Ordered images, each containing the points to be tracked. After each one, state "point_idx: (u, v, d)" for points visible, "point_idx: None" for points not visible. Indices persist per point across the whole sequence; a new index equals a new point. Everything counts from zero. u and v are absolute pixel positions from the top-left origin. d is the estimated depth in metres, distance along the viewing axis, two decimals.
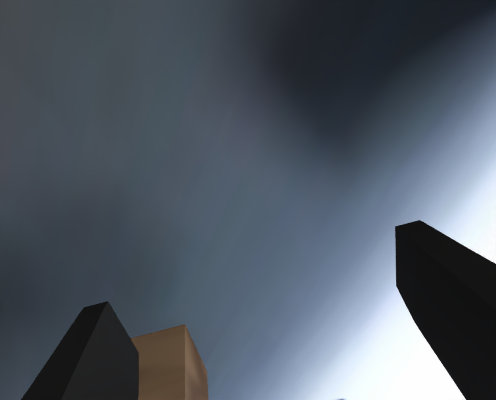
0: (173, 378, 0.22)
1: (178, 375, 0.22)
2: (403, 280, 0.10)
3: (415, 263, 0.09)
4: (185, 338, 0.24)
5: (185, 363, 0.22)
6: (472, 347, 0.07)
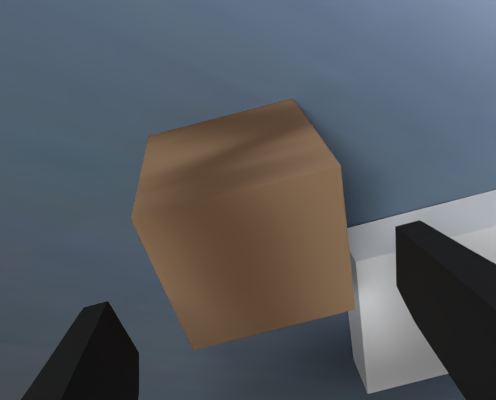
0: None
1: None
2: (403, 280, 0.10)
3: (415, 263, 0.09)
4: (150, 147, 0.13)
5: (141, 175, 0.11)
6: (472, 347, 0.07)
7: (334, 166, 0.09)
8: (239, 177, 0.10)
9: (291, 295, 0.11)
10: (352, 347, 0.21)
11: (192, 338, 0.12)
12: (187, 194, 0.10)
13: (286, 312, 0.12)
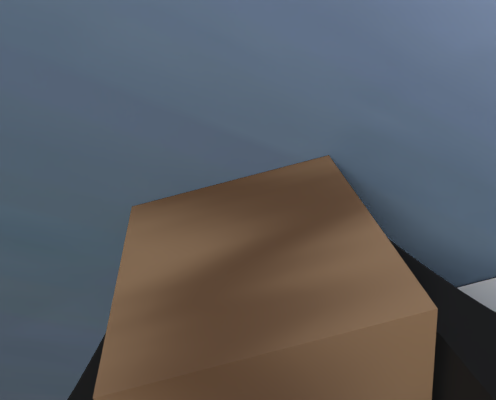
0: None
1: None
2: None
3: None
4: (132, 230, 0.09)
5: (116, 288, 0.07)
6: None
7: (426, 309, 0.06)
8: (267, 315, 0.06)
9: None
10: None
11: None
12: (185, 345, 0.06)
13: None
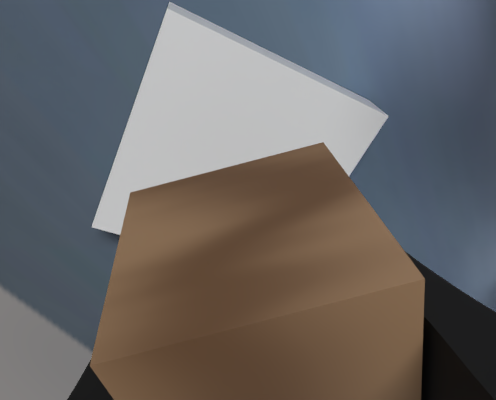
0: None
1: None
2: None
3: None
4: (130, 214, 0.09)
5: (114, 267, 0.08)
6: None
7: (414, 280, 0.06)
8: (260, 287, 0.06)
9: None
10: None
11: None
12: (180, 316, 0.06)
13: None
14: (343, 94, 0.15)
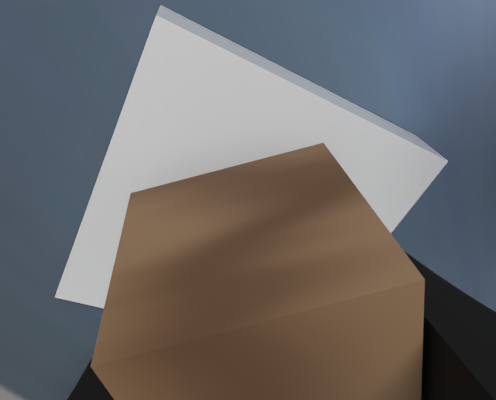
0: None
1: None
2: None
3: None
4: (131, 215, 0.09)
5: (115, 267, 0.08)
6: None
7: (414, 280, 0.06)
8: (260, 288, 0.06)
9: None
10: None
11: None
12: (180, 317, 0.06)
13: None
14: (392, 133, 0.11)
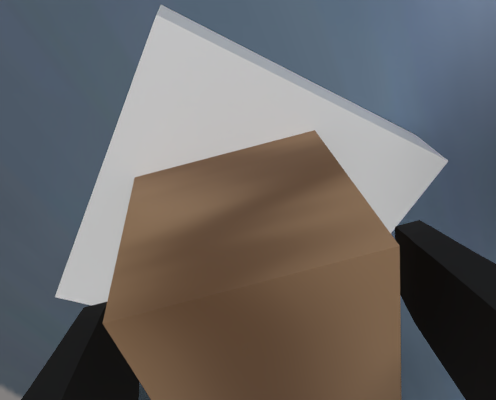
0: None
1: None
2: (403, 280, 0.10)
3: (415, 263, 0.09)
4: (135, 196, 0.10)
5: (121, 242, 0.08)
6: (472, 347, 0.07)
7: (390, 247, 0.07)
8: (254, 256, 0.07)
9: (320, 398, 0.09)
10: None
11: None
12: (182, 281, 0.07)
13: None
14: (392, 133, 0.11)
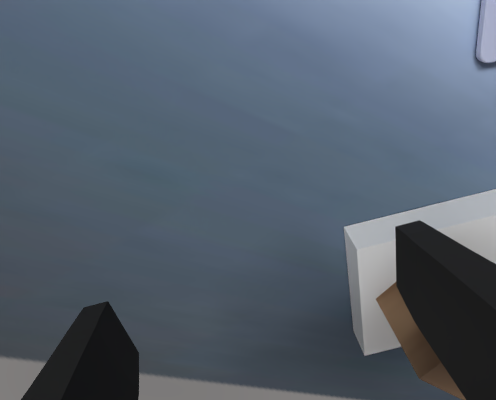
0: None
1: None
2: (403, 280, 0.10)
3: (415, 263, 0.09)
4: (385, 311, 0.22)
5: (398, 340, 0.20)
6: (472, 347, 0.07)
7: None
8: None
9: None
10: (352, 320, 0.26)
11: None
12: None
13: None
14: (486, 216, 0.20)
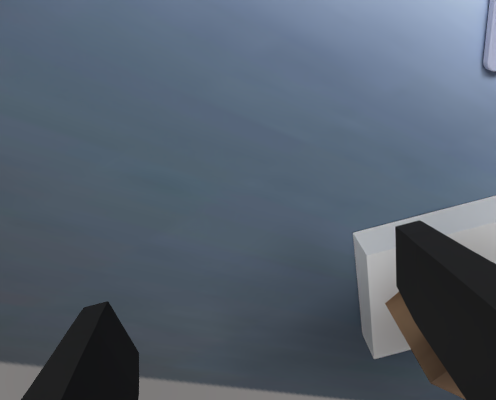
0: None
1: None
2: (403, 280, 0.10)
3: (415, 263, 0.09)
4: (395, 316, 0.22)
5: (409, 344, 0.20)
6: (472, 347, 0.07)
7: None
8: None
9: None
10: (361, 324, 0.26)
11: None
12: None
13: None
14: (494, 221, 0.21)
